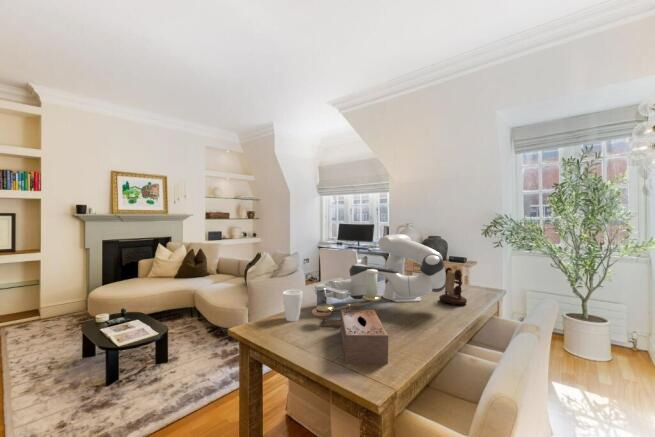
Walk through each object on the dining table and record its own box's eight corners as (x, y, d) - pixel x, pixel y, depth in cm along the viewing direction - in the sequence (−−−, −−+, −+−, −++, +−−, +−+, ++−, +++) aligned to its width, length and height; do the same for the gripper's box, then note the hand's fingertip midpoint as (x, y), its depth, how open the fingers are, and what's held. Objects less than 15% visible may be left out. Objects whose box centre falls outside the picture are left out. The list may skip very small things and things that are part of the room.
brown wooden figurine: (433, 300, 171) (434, 267, 171) (451, 297, 177) (452, 265, 177) (454, 307, 158) (454, 271, 157) (472, 304, 164) (473, 270, 163)
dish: (332, 310, 151) (332, 308, 151) (330, 317, 141) (330, 314, 141) (313, 309, 152) (313, 307, 152) (310, 316, 142) (310, 313, 142)
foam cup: (303, 316, 142) (304, 290, 142) (300, 323, 133) (300, 295, 133) (285, 315, 143) (285, 289, 143) (280, 322, 134) (280, 294, 134)
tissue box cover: (340, 332, 123) (341, 309, 123) (373, 332, 124) (374, 310, 123) (346, 364, 98) (346, 335, 97) (387, 364, 98) (388, 335, 98)
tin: (327, 309, 149) (327, 286, 148) (326, 312, 143) (326, 289, 143) (317, 309, 149) (317, 286, 149) (315, 312, 144) (316, 288, 144)
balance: (379, 323, 133) (379, 294, 133) (380, 330, 126) (381, 299, 125) (317, 320, 137) (318, 291, 136) (315, 326, 129) (315, 296, 128)
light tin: (377, 295, 132) (377, 269, 132) (377, 298, 127) (378, 271, 127) (365, 294, 133) (366, 269, 132) (366, 297, 127) (366, 271, 127)
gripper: (353, 299, 148) (335, 305, 138) (325, 291, 163) (307, 296, 153) (353, 287, 148) (335, 292, 138) (325, 280, 162) (307, 284, 153)
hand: (320, 294), depth 146 cm, fingers closed on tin, 5 cm apart
